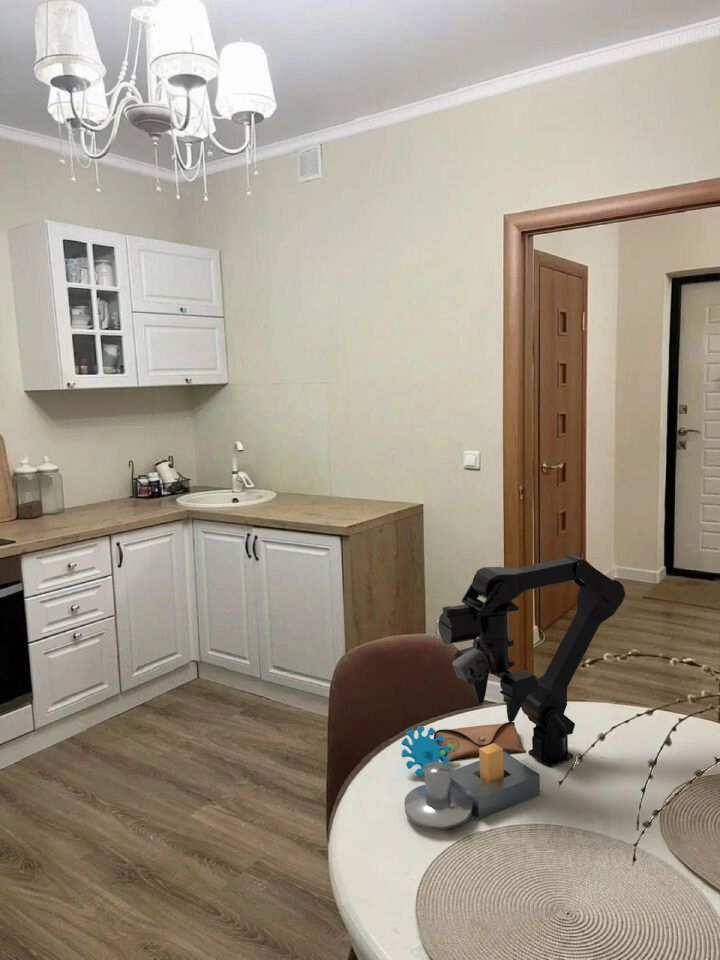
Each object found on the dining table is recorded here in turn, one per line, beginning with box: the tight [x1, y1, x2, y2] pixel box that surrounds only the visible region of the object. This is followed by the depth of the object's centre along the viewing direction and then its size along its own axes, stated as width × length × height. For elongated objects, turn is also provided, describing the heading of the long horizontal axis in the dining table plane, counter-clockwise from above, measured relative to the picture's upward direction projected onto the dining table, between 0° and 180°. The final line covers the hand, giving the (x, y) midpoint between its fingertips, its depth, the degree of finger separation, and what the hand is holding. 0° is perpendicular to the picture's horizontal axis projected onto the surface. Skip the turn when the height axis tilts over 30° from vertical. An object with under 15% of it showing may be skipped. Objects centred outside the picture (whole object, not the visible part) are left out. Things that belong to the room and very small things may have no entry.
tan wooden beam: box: [478, 743, 504, 784], centre depth 137 cm, size 4×2×9 cm
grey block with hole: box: [403, 751, 541, 830], centre depth 134 cm, size 25×12×9 cm, turn 119°
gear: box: [400, 725, 454, 778], centre depth 148 cm, size 11×6×10 cm
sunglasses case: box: [433, 721, 527, 763], centre depth 154 cm, size 18×7×7 cm, turn 99°
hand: (495, 711), depth 144 cm, fingers open, 9 cm apart
